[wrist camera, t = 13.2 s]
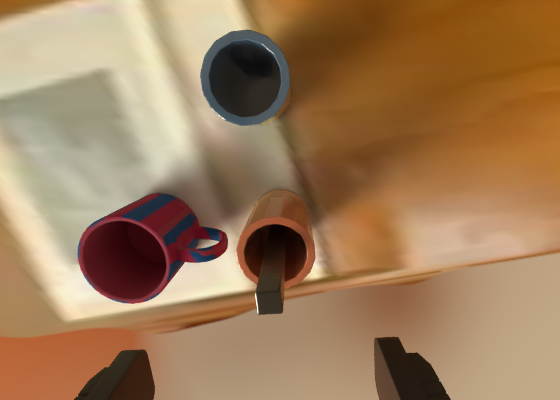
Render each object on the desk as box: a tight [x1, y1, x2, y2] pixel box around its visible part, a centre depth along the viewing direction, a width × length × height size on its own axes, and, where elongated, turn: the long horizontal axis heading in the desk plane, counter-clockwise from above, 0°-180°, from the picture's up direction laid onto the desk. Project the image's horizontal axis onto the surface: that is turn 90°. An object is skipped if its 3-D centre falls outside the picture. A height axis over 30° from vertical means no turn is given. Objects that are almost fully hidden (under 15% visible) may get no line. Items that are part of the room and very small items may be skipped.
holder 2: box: [236, 190, 315, 289], centre depth 24 cm, size 5×5×8 cm
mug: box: [78, 194, 228, 304], centre depth 25 cm, size 7×10×7 cm
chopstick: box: [255, 224, 288, 315], centre depth 21 cm, size 1×1×13 cm
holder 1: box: [200, 30, 291, 126], centre depth 21 cm, size 5×5×8 cm
